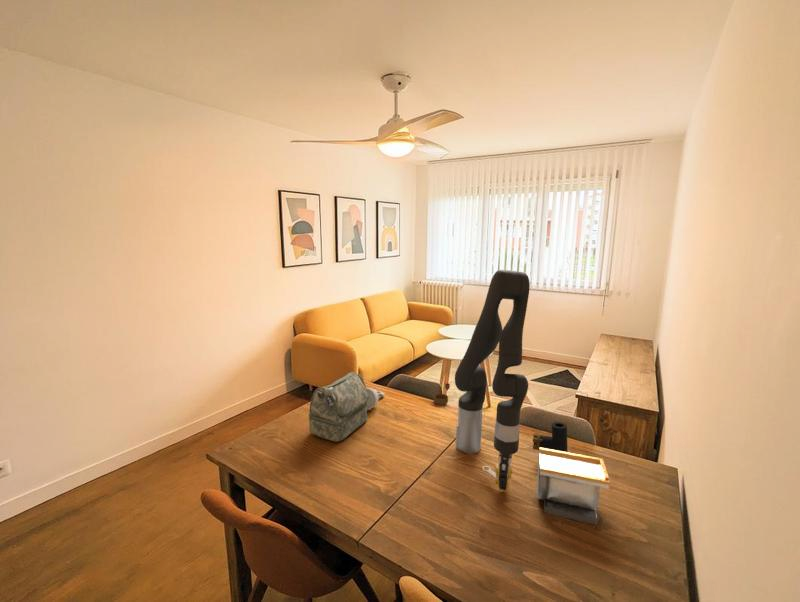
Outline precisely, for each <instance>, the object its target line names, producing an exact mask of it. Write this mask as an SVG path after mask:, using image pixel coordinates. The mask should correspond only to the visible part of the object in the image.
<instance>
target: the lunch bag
mask: <svg viewBox="0 0 800 602" xmlns="http://www.w3.org/2000/svg"><path fill="white" fill-rule="evenodd" d="M367 388H368V387H367V385H366V383H365V381H364V378H363V376H362V375H361V374H359V373H357V372H353V371H352V372H351V371H350V372H348V373H346V375H344V376H342V377H341V378H339V379H337V380H335V381H334V382H332V383H331V384H328V385H325V386H321V387H319V386H318V387H317V388H316V389H315V390H314V391H313V394H312V395H311V398H310V404H309V413H308V423H309V432H310V433H311V434H312V435H314V436H316V437H319V438H321V439H324V440H326V441H327V440H328V441H331V442H337V443H338V442H342V441H343V440H344V439H346V438H347V437H348V436H349V435H351V434H352V433H353V432H354V431H355V430H357V429H358V428H359V427H361V426H362V425H363V424H364V423H365V422H367V421H368V410H367V401H368V399H369V396H368V391H367Z"/></svg>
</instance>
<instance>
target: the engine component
mask: <svg viewBox="0 0 800 602" xmlns="http://www.w3.org/2000/svg"><path fill="white" fill-rule="evenodd" d="M366 388H367V391H368V396H369V399H368V401H367V411H369V410H371V409H372V408H374V407H375V406H376V405H377V403H379V398H383V397H385V395H386V394H385V392H383V391H380V390H379V391H377V390H376V389H374V388H370V387H366Z"/></svg>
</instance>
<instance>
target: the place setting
mask: <svg viewBox="0 0 800 602" xmlns="http://www.w3.org/2000/svg"><path fill="white" fill-rule="evenodd" d="M450 385H451V384H450V383H445V384H444V388H445V390H446V391H448V390H449V389H450V387H451V386H450ZM433 402H434V403H435V404H436V405H439V406H445V405H447V404H448V402H449V396H448V395H447V394H444V393H436V394H434V395H433ZM444 404H445V405H444Z"/></svg>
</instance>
